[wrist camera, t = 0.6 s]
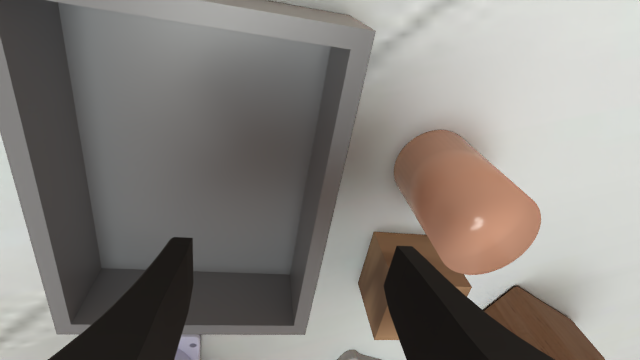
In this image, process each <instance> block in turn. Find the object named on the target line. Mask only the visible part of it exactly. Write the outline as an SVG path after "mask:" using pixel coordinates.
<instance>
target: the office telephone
mask: <svg viewBox="0 0 640 360" xmlns="http://www.w3.org/2000/svg"><path fill="white" fill-rule="evenodd" d="M337 360H380V359H377V358H373V357H369V356H365V355H362V354H359V353H358V352H357V351H356V350H348V351H346V352H344V353H343V354H342V355H341V356H340V357H339V358H338V359H337Z"/></svg>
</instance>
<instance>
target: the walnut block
mask: <svg viewBox="0 0 640 360" xmlns="http://www.w3.org/2000/svg"><path fill="white" fill-rule="evenodd" d="M396 246H413V247H414V248H415V249H416V250H417V251H418V252H419V253H420V254H421V255H422V256H423V257H425V258H426V259H427V260H428V261H429V262H430V263H431V264H432V265H433V266H434V267H435V268H436V269H437V270H438V271H439V272H440V273H441V274H442V275H443V276H444V277H445V278H446V279H448V280H449V281H450V282H451V283H452V284H453V285H454V286H455V287H456V288H457V289H458V290H460V291H461V292H462V293H463V294H464V295H465V296H466V297H467V295H468V294H469V292H470V290H471V288H472V287H471V285H470V284H469V282H468V280H467V279H466V277H465V276H464V274H461V273H457V272H455V271H453V270H451V269H449V268H448V267H447V266H446V265H445V264H444V263H443V262H442V260H441V258H440V257H439V255H438V253H437V251H436V250H435V248H434V246H433V245H432V243H431V241H430V240H429V238H428V236H427V235H419V234H402V233H385V232H374V233H373V236H372V240H371V243H370V246H369V249H368V252H367V256H366V259H365V262H364V265H363V269H362V272H361V275H360V278H359V282H358V285H359V288H360V292H361V295H362V299H363V302H364V306H365V309H366V313H367V316H368V320H369V323H370V327H371V330H372V334H373V337H374V340H399V337H398V335H397V332H396V329H395V327H394V324H393V321H392V318H391V315H390V313H389V309H388V305H387V300H386V296H385V291H384V286H383V285H384V282H385V279H386V276H387V273H388V270H389V267H390V264H391V261H392V258H393V255H394V252H395V249H396Z"/></svg>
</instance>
